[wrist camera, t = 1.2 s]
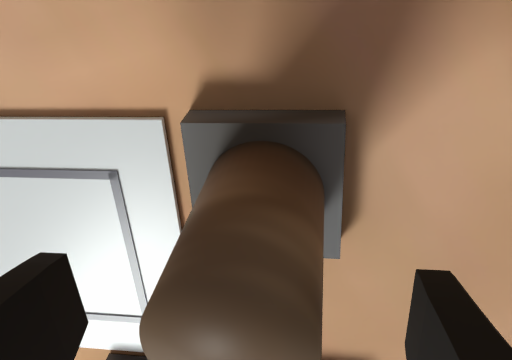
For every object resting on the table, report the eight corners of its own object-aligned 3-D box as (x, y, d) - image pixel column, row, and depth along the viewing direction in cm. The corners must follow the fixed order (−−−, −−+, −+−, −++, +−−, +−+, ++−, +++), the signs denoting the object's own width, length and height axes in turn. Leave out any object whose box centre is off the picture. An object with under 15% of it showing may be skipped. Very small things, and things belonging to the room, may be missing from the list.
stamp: (344, 109, 13) (356, 261, 7) (339, 239, 15) (344, 433, 9) (189, 109, 13) (89, 249, 8) (206, 233, 16) (136, 412, 10)
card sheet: (163, 117, 14) (160, 120, 13) (201, 352, 18) (199, 358, 18) (-133, 116, 15) (-141, 119, 15) (-25, 334, 20) (-29, 339, 20)
